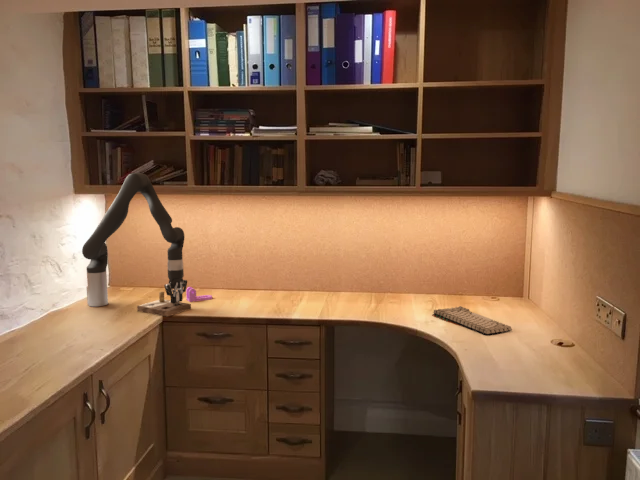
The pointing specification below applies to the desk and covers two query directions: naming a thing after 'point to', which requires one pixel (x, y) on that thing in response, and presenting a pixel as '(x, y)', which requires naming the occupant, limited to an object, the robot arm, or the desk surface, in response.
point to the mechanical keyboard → (471, 321)
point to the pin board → (163, 307)
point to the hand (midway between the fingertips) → (176, 302)
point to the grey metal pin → (176, 298)
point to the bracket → (192, 295)
